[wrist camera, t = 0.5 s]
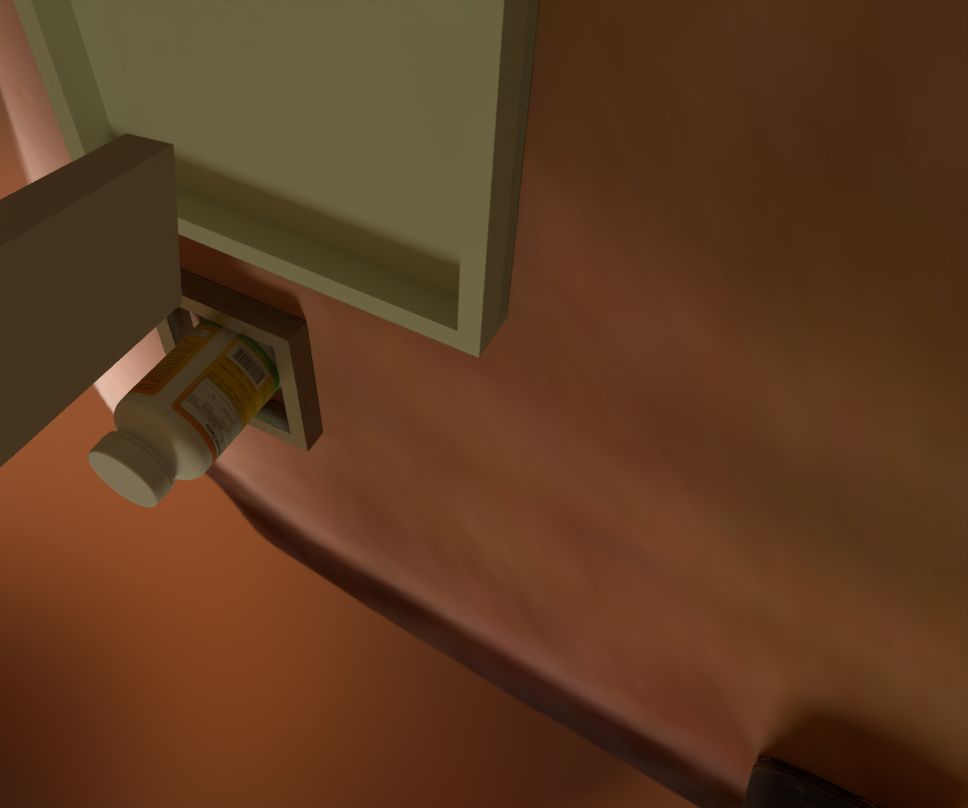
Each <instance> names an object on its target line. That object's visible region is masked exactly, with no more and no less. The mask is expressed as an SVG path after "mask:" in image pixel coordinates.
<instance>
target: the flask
mask: <svg viewBox="0 0 968 808" xmlns="http://www.w3.org/2000/svg"><path fill="white" fill-rule="evenodd" d="M757 762H758V765H757V764H756V763H757ZM757 762H756V763H755V765H754V766H753V768H752V772H751V776H750V780H749V784H748V788H747V791H746V795H745V798H744V801H743V806H742V808H877V807H876V806H875V805H873V804H871V803H869V802H867V801H866V800H863V799H860V798H857V797H856V796H855V795H852V794H847V793H846V792H843V791H842V790H840V788H837V786H834V785H832V784H829V783H828V782H825V781H823V780H821V779H819V778H817V777H815V776H812V775H810V774H808V773H807V774H806V772H803V771H801V770H799V768H797V767H794V766H792V765H788V764H783V763H780V762H777V761H776V760H775V759H774V760H772V759H771V758H769V757H768V758H760V759H759V760H758V761H757Z"/></svg>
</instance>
